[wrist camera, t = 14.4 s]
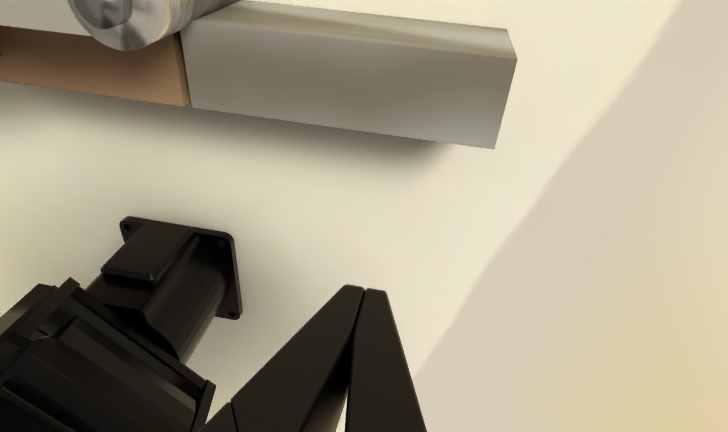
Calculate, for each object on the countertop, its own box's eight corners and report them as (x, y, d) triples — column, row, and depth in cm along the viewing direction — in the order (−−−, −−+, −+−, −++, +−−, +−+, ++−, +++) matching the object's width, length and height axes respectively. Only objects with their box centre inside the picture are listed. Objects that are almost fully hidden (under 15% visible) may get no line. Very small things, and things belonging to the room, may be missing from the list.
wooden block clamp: (488, 106, 19) (499, 186, 13) (3, 43, 21) (-152, 91, 16) (522, -38, 16) (554, -9, 10) (-48, -93, 18) (-260, -91, 13)
